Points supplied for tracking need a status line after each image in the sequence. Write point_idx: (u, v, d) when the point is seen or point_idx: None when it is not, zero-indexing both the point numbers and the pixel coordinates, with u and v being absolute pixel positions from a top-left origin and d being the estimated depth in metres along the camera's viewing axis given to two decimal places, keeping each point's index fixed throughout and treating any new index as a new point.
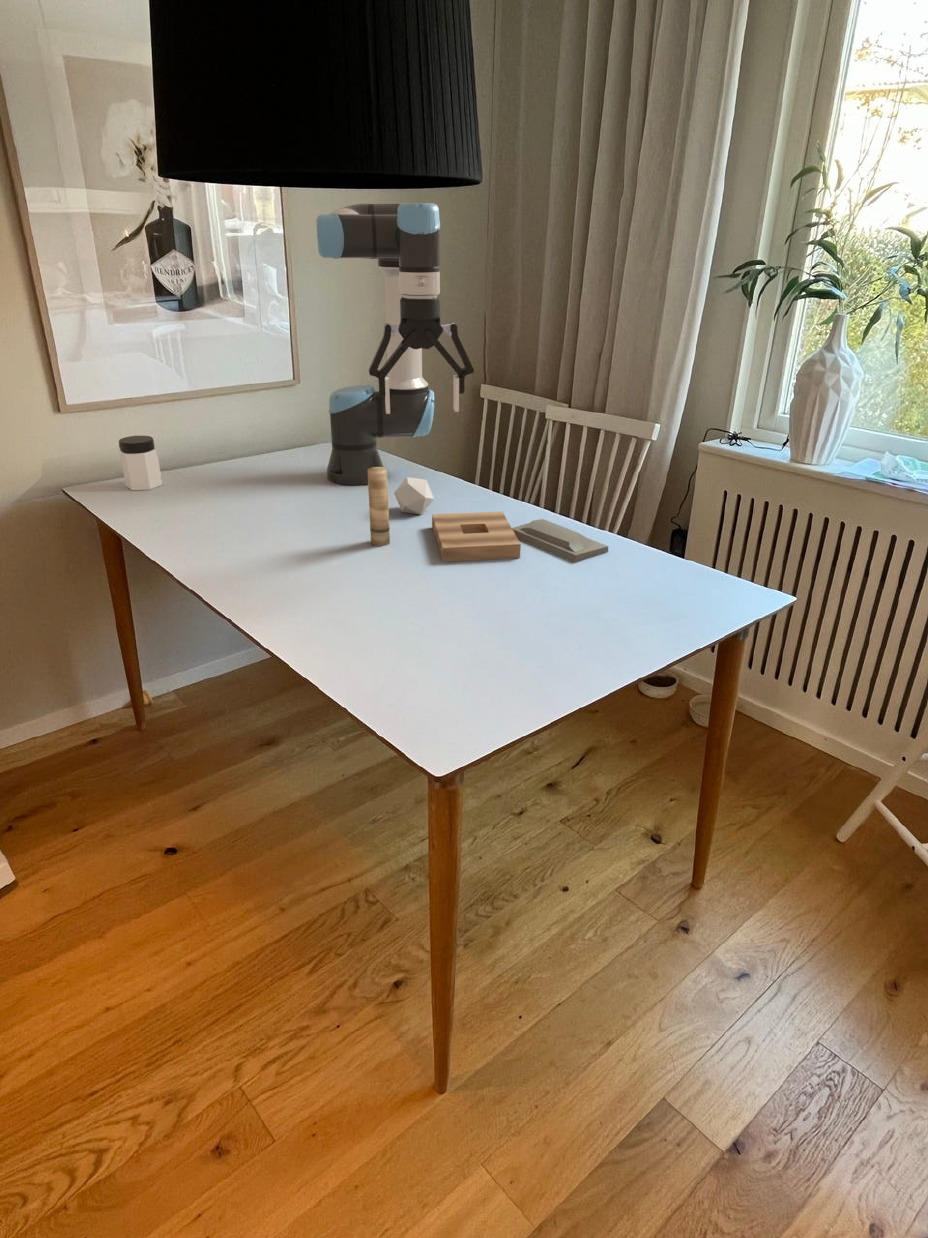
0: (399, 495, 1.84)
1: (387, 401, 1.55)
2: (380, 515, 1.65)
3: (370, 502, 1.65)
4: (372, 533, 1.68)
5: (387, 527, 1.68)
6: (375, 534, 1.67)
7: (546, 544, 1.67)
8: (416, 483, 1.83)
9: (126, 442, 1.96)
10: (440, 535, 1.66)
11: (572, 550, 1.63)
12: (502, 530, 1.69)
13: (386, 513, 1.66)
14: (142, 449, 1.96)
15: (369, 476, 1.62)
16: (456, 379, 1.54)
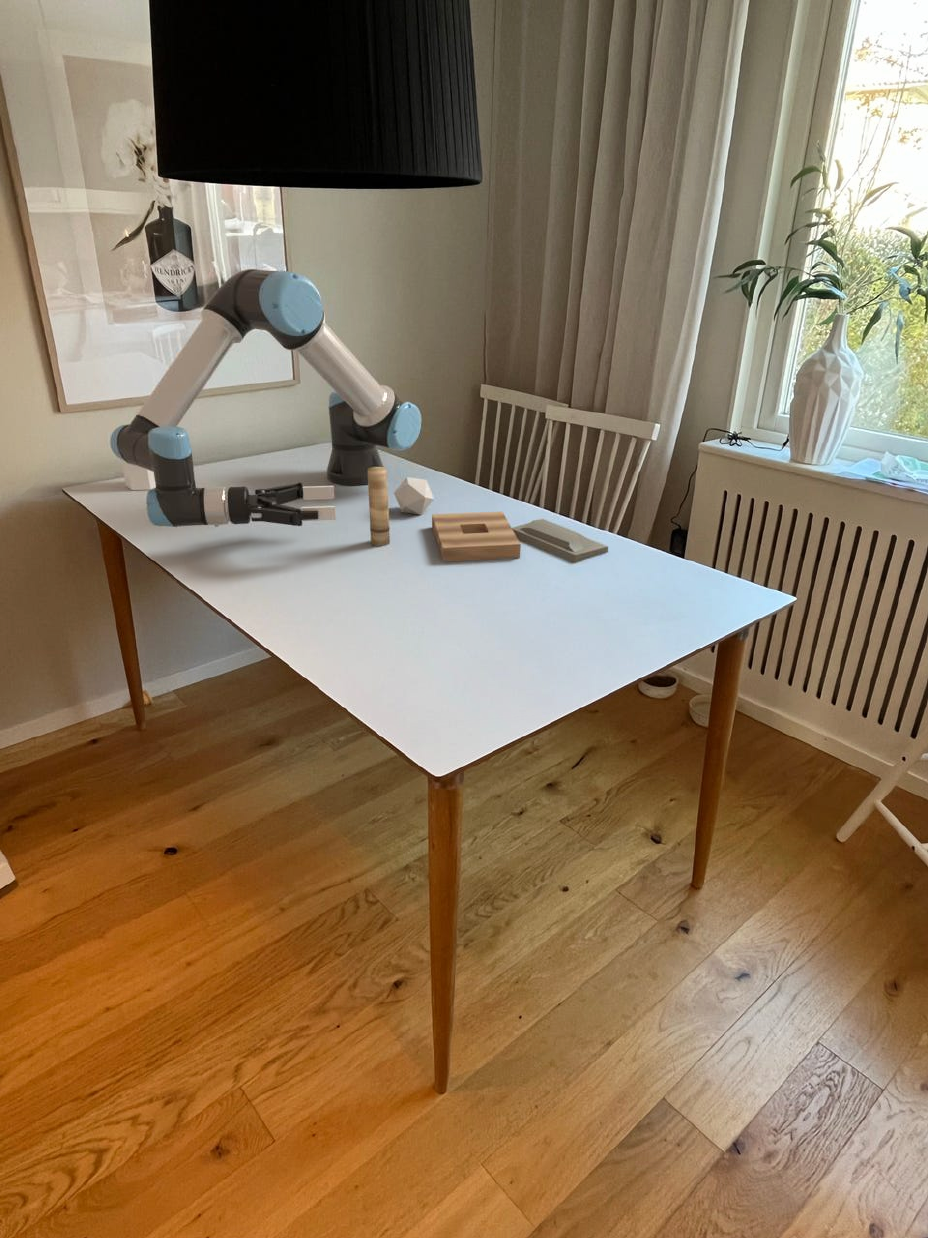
0: (399, 495, 1.84)
1: None
2: (380, 515, 1.65)
3: (370, 502, 1.65)
4: (372, 533, 1.68)
5: (387, 527, 1.68)
6: (375, 534, 1.67)
7: (546, 544, 1.67)
8: (416, 483, 1.83)
9: None
10: (440, 535, 1.66)
11: (572, 550, 1.63)
12: (502, 530, 1.69)
13: (386, 513, 1.66)
14: None
15: (369, 476, 1.62)
16: None
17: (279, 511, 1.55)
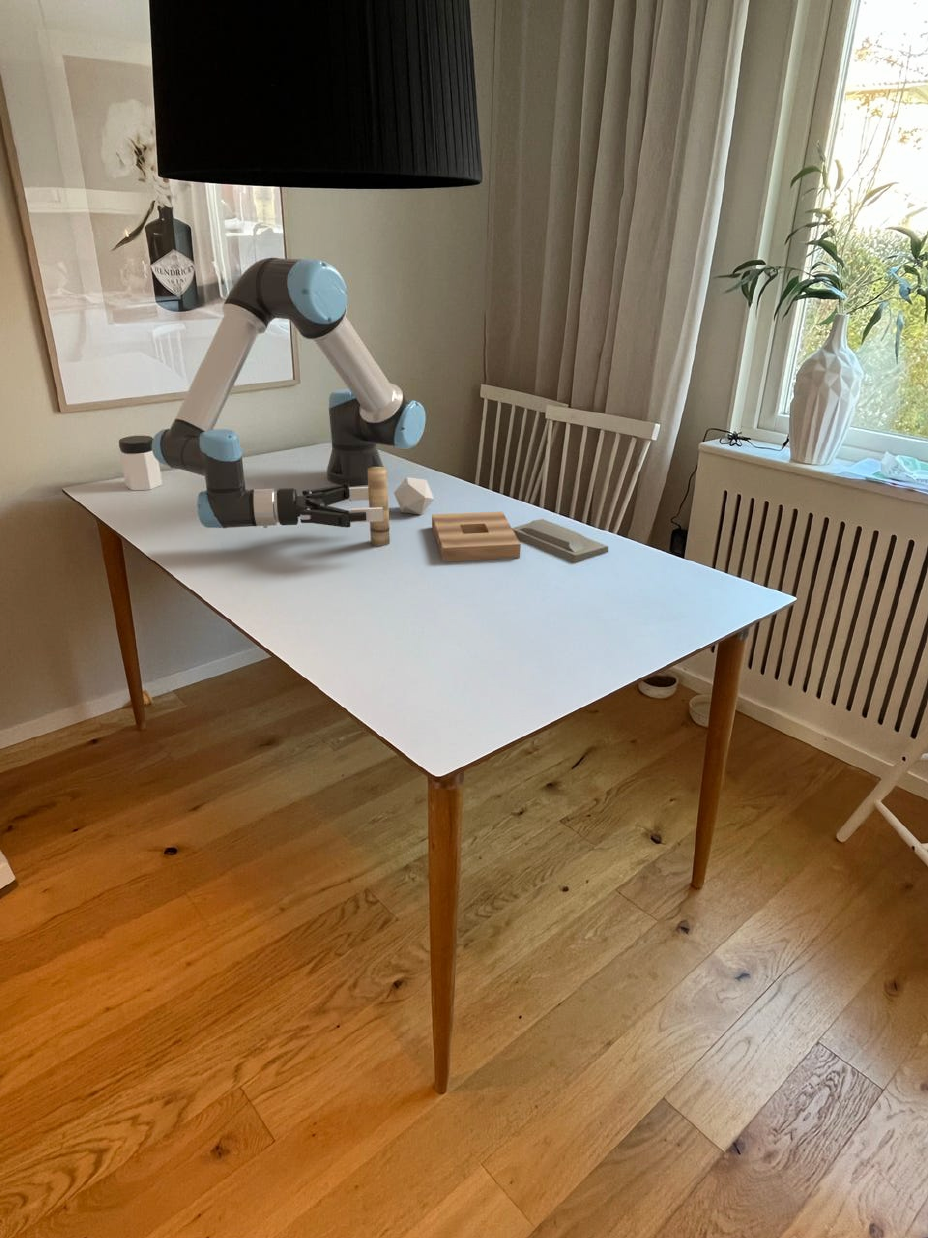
0: (399, 495, 1.84)
1: None
2: None
3: (370, 502, 1.65)
4: (372, 533, 1.68)
5: (387, 527, 1.68)
6: (375, 534, 1.67)
7: (546, 544, 1.67)
8: (416, 483, 1.83)
9: (126, 442, 1.96)
10: (440, 535, 1.66)
11: (572, 550, 1.63)
12: (502, 530, 1.69)
13: (386, 513, 1.66)
14: (142, 449, 1.96)
15: (369, 476, 1.62)
16: None
17: (328, 513, 1.57)
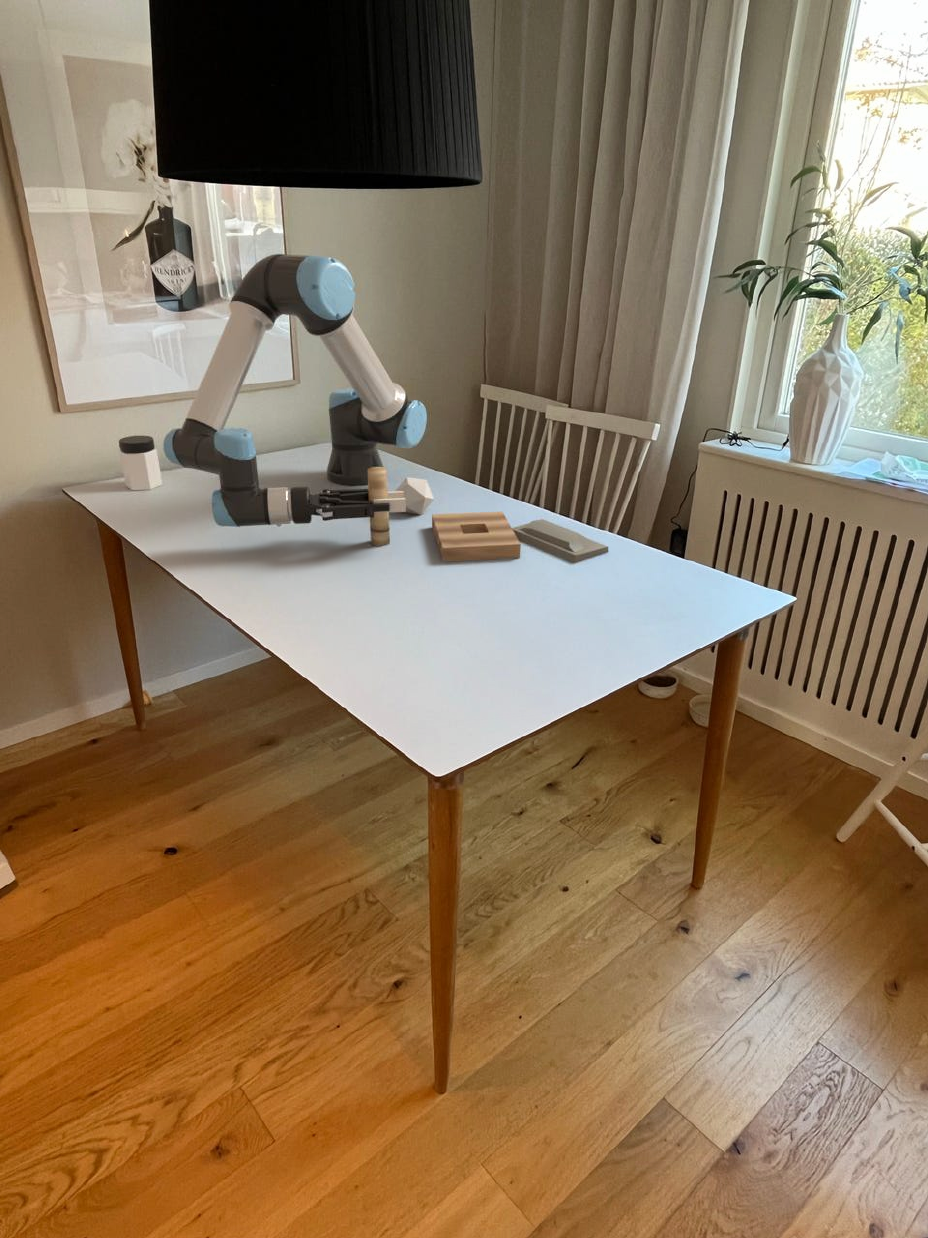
0: None
1: None
2: (380, 515, 1.65)
3: None
4: (372, 533, 1.68)
5: (387, 527, 1.68)
6: (375, 534, 1.67)
7: (546, 544, 1.67)
8: (416, 483, 1.83)
9: (126, 442, 1.96)
10: (440, 535, 1.66)
11: (572, 550, 1.63)
12: (502, 530, 1.69)
13: (386, 513, 1.66)
14: (142, 449, 1.96)
15: (369, 476, 1.62)
16: None
17: (352, 506, 1.60)
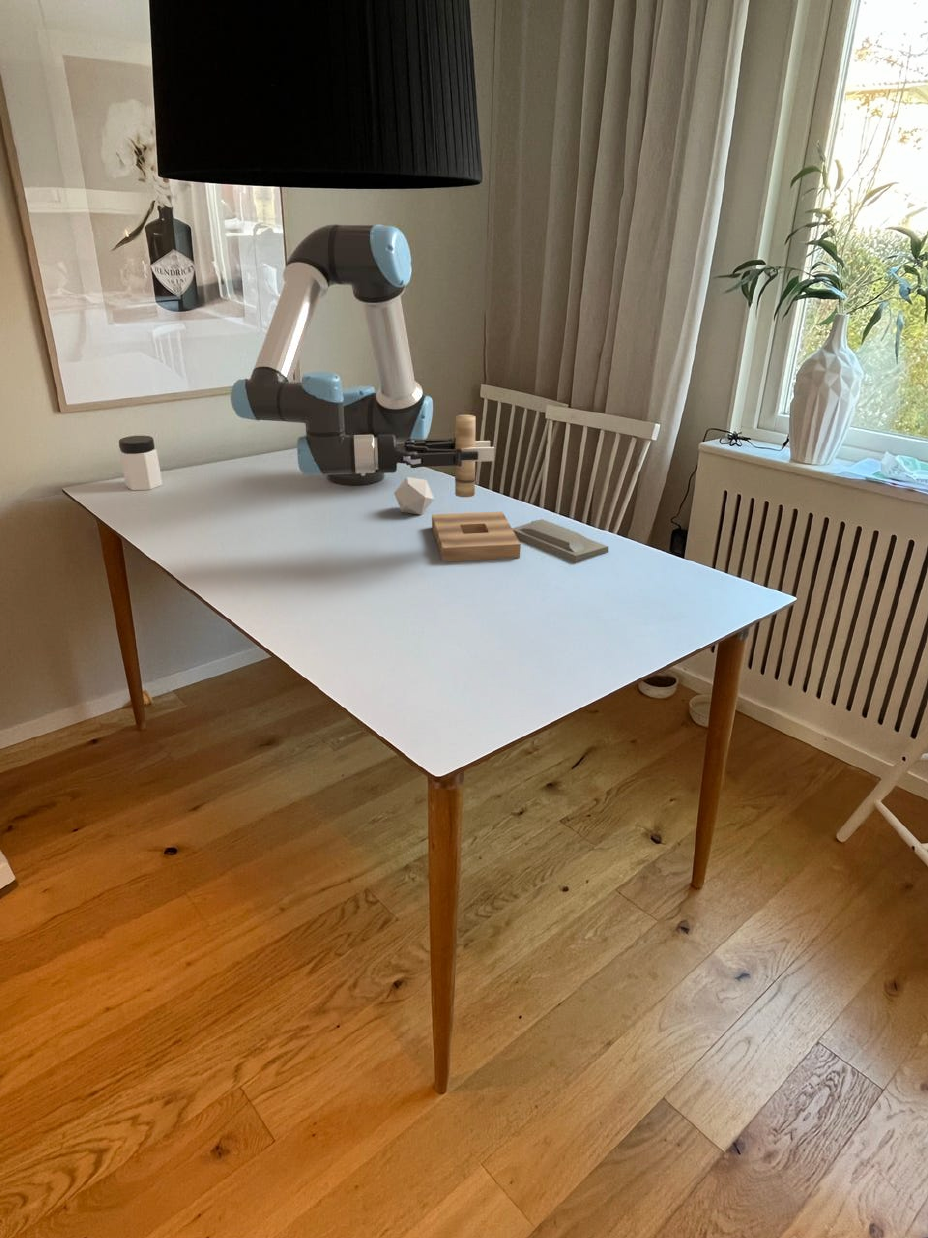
0: (399, 495, 1.84)
1: None
2: (467, 464, 1.60)
3: None
4: (457, 484, 1.63)
5: (473, 478, 1.63)
6: (461, 485, 1.62)
7: (546, 545, 1.66)
8: (416, 483, 1.83)
9: (126, 442, 1.96)
10: (440, 535, 1.66)
11: (572, 551, 1.63)
12: (502, 530, 1.69)
13: (473, 463, 1.61)
14: (142, 449, 1.96)
15: (457, 423, 1.57)
16: None
17: (440, 453, 1.55)
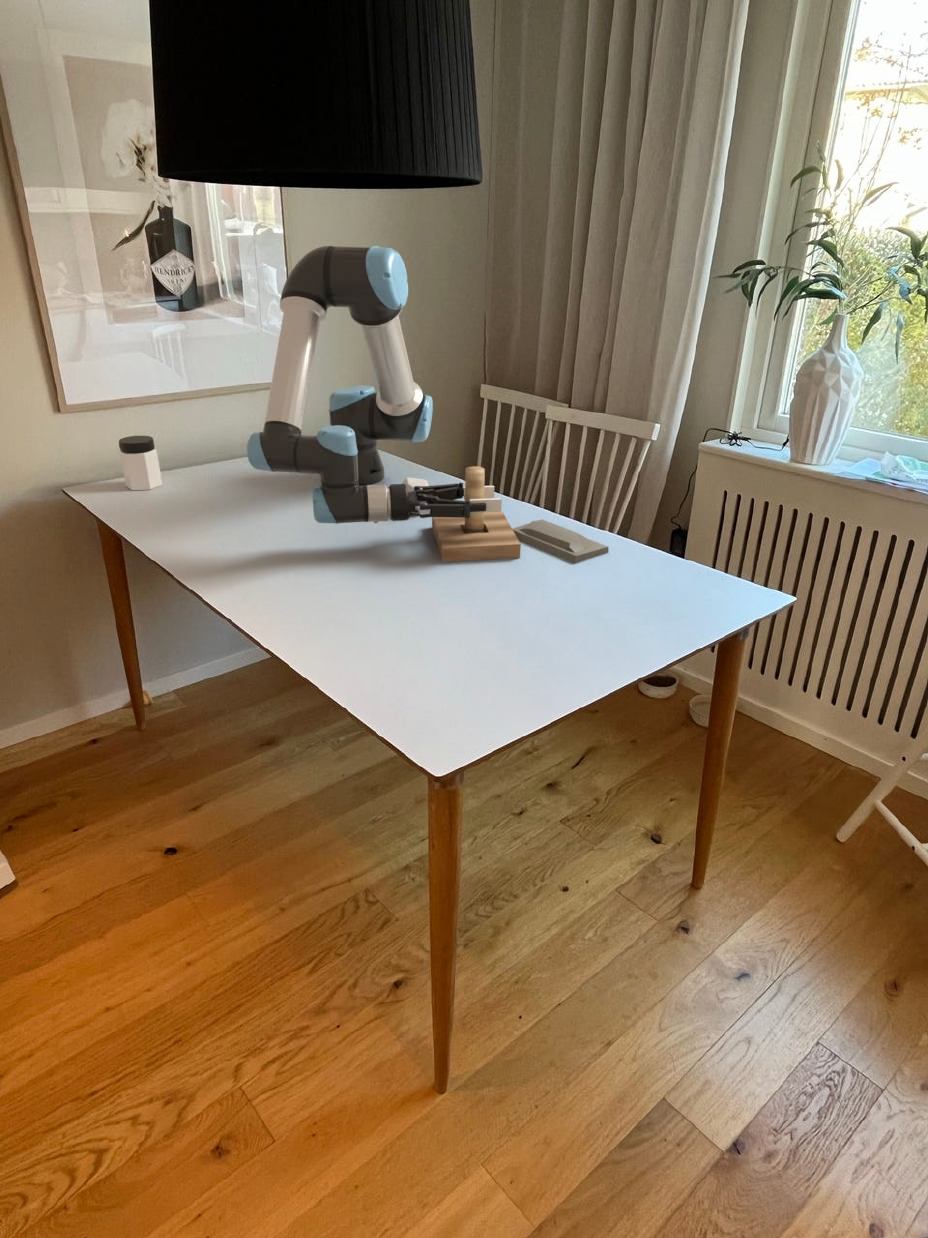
0: None
1: None
2: (476, 514, 1.66)
3: None
4: (467, 532, 1.69)
5: (482, 526, 1.68)
6: None
7: (546, 545, 1.66)
8: (416, 483, 1.83)
9: (126, 442, 1.96)
10: (440, 535, 1.66)
11: (572, 551, 1.62)
12: (502, 530, 1.69)
13: None
14: (142, 449, 1.96)
15: (467, 475, 1.63)
16: None
17: (449, 505, 1.59)
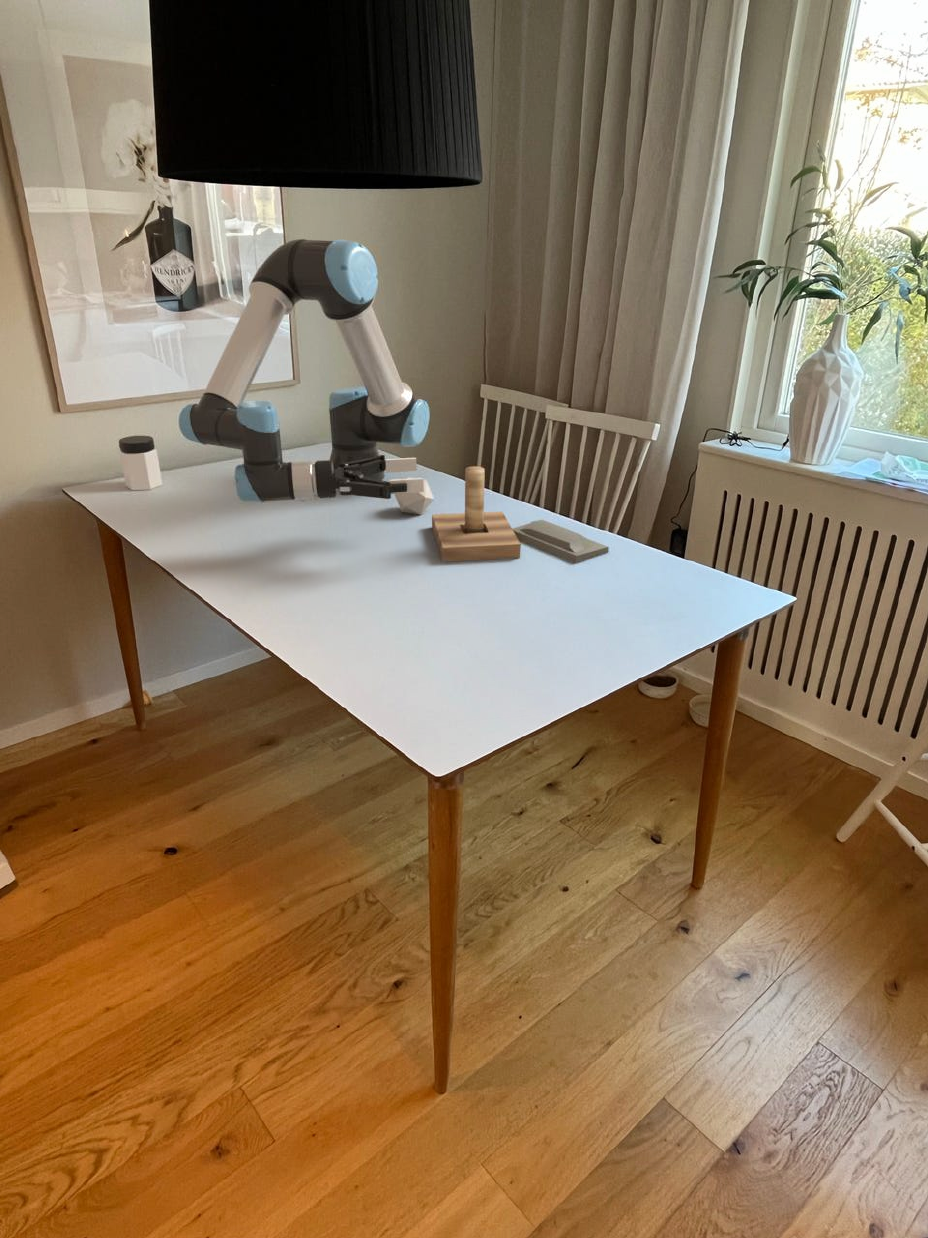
0: (399, 495, 1.84)
1: None
2: (476, 514, 1.66)
3: (467, 501, 1.66)
4: (467, 532, 1.69)
5: (482, 526, 1.68)
6: None
7: (546, 545, 1.66)
8: None
9: (126, 442, 1.96)
10: (440, 535, 1.66)
11: (572, 551, 1.62)
12: (502, 530, 1.69)
13: (482, 512, 1.67)
14: (142, 449, 1.96)
15: (467, 475, 1.63)
16: None
17: (369, 484, 1.54)
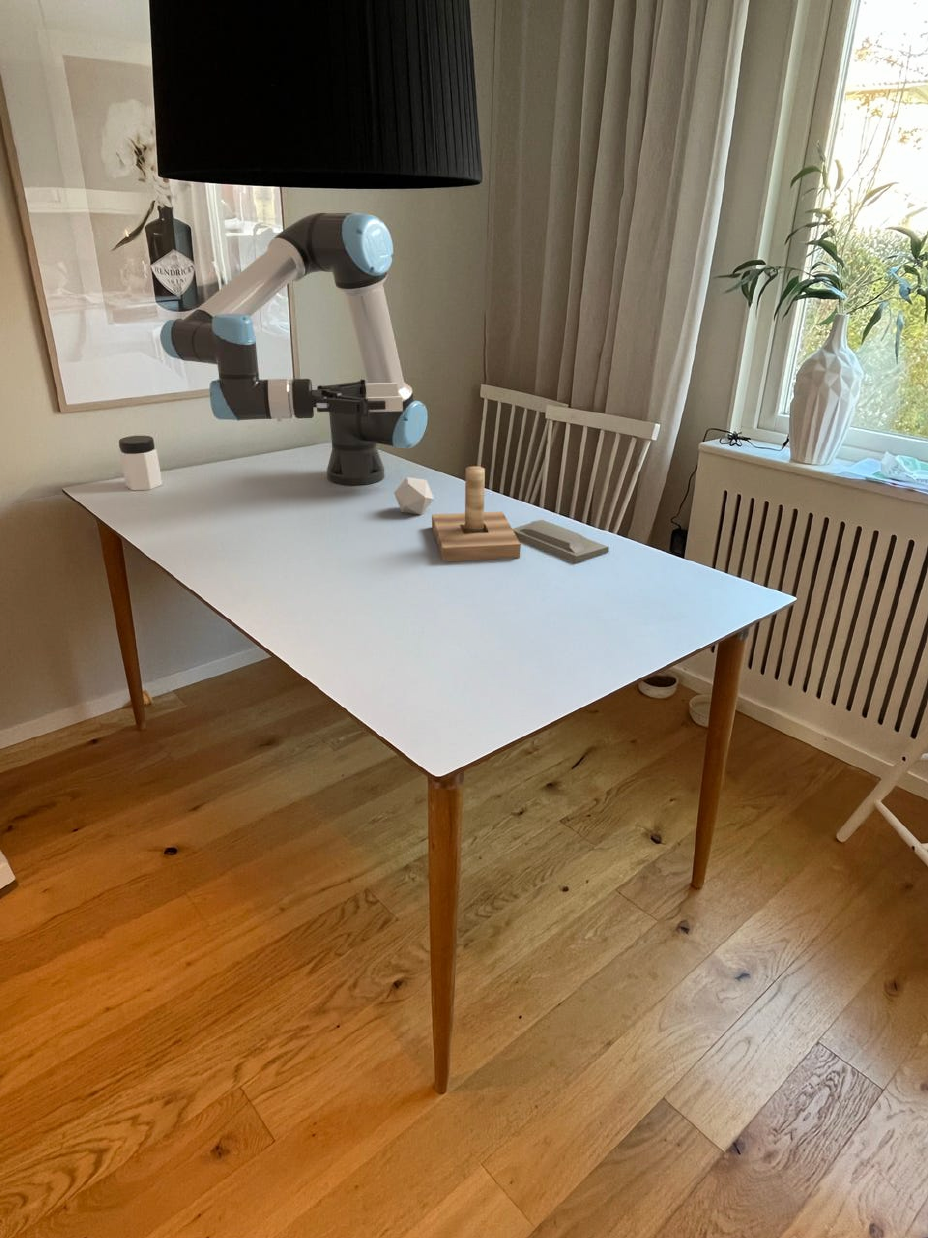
0: (399, 495, 1.84)
1: None
2: (476, 514, 1.66)
3: (467, 501, 1.66)
4: (467, 532, 1.69)
5: (482, 526, 1.68)
6: None
7: (546, 545, 1.66)
8: (416, 483, 1.83)
9: (126, 442, 1.96)
10: (440, 535, 1.66)
11: (573, 551, 1.62)
12: (502, 530, 1.69)
13: (482, 512, 1.67)
14: (142, 449, 1.96)
15: (467, 475, 1.63)
16: None
17: (346, 400, 1.51)
